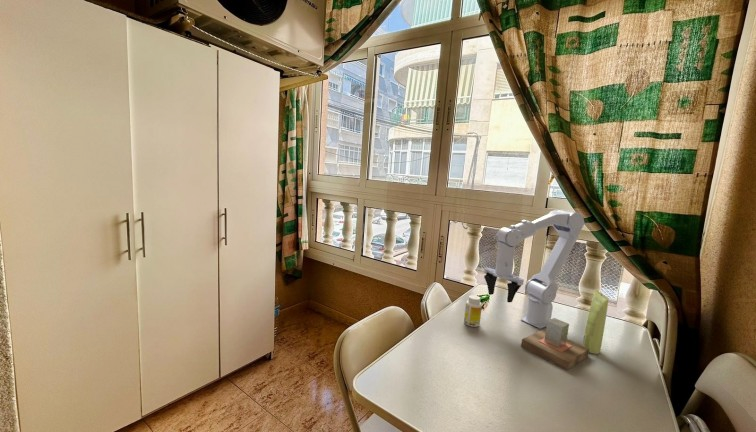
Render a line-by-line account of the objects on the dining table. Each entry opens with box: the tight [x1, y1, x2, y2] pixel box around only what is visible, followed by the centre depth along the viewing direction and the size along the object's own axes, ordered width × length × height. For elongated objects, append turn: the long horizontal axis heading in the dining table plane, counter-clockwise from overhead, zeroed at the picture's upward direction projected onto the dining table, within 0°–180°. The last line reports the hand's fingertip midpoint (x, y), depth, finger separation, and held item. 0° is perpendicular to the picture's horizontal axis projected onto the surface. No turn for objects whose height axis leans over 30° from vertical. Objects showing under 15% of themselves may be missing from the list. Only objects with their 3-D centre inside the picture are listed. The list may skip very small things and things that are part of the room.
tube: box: [581, 288, 610, 355], centre depth 100 cm, size 6×5×20 cm
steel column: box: [544, 317, 570, 348], centre depth 98 cm, size 4×4×7 cm
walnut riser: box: [520, 328, 590, 371], centre depth 99 cm, size 14×14×3 cm
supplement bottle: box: [463, 294, 483, 328], centre depth 113 cm, size 6×6×10 cm
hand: (500, 297), depth 113 cm, fingers open, 7 cm apart
